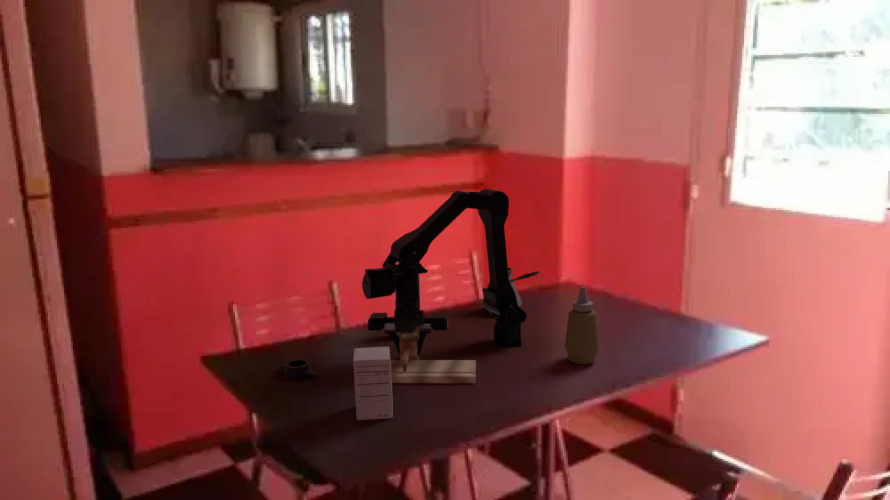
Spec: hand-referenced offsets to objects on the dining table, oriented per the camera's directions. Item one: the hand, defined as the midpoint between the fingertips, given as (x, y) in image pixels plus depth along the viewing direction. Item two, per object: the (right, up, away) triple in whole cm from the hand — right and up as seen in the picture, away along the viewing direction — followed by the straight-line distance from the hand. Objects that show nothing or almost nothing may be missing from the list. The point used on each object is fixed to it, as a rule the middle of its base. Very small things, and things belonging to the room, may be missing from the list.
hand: (409, 355), depth 173 cm
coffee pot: (+28, +6, +34) cm, 45 cm away
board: (+4, -3, -8) cm, 10 cm away
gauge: (0, -2, -4) cm, 5 cm away
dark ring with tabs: (-26, -4, -6) cm, 27 cm away
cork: (-2, +2, +19) cm, 19 cm away
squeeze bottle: (+41, -1, -2) cm, 41 cm away
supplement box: (-6, -8, -27) cm, 29 cm away
